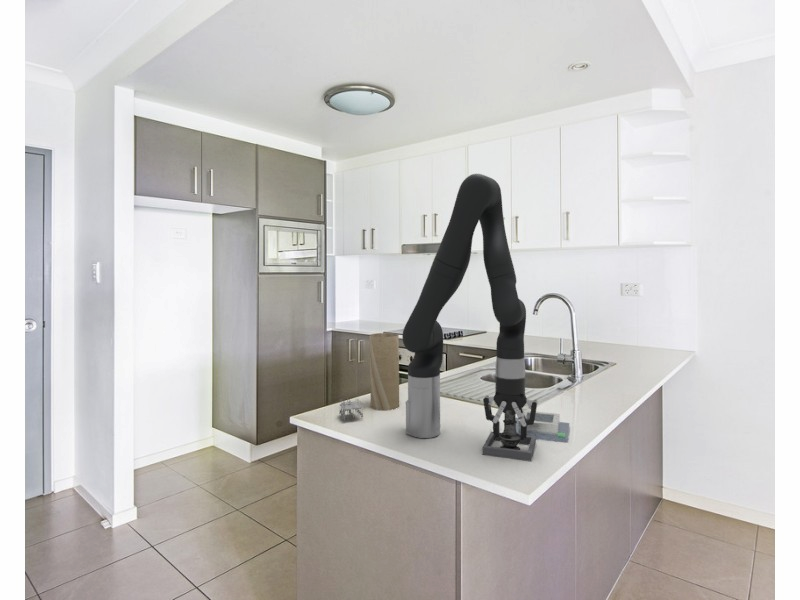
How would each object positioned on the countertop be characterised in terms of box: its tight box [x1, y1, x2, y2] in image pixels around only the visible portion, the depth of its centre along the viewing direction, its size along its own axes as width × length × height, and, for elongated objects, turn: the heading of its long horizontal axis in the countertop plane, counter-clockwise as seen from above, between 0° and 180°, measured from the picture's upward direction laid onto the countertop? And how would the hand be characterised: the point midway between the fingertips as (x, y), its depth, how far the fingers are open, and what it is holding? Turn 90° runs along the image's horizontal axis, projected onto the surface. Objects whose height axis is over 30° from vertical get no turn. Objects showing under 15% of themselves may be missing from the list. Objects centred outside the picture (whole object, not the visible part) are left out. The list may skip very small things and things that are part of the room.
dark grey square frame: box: [482, 431, 537, 462], centre depth 123 cm, size 12×12×2 cm
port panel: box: [515, 409, 570, 443], centre depth 136 cm, size 16×14×4 cm
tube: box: [369, 332, 400, 411], centre depth 162 cm, size 10×10×25 cm
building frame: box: [339, 397, 364, 423], centre depth 150 cm, size 6×8×6 cm
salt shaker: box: [499, 410, 521, 450], centre depth 122 cm, size 6×6×12 cm
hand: (510, 437), depth 123 cm, fingers closed on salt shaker, 6 cm apart
